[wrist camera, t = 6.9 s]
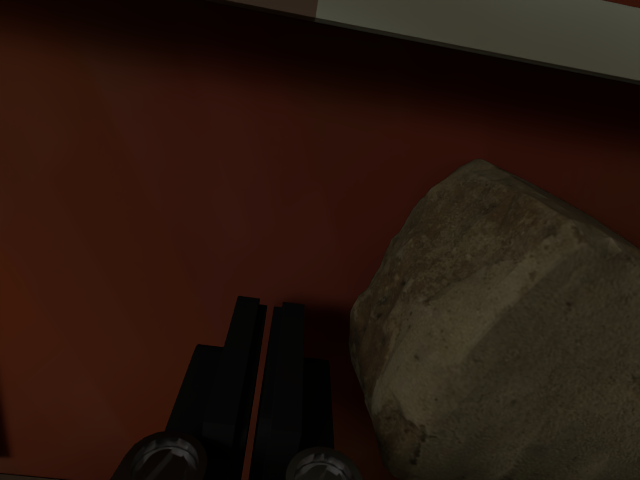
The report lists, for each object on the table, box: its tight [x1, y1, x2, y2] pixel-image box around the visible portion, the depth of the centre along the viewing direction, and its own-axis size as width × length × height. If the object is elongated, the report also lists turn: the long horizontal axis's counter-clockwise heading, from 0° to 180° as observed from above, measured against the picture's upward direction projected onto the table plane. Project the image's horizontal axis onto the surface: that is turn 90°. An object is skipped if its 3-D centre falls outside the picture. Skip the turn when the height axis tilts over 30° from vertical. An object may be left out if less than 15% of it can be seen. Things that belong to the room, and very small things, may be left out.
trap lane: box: [0, 0, 640, 480], centre depth 10 cm, size 17×36×4 cm, turn 80°
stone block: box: [348, 159, 640, 480], centre depth 10 cm, size 6×12×5 cm, turn 62°
